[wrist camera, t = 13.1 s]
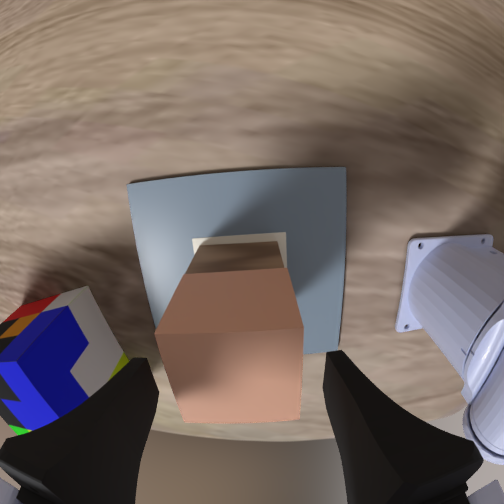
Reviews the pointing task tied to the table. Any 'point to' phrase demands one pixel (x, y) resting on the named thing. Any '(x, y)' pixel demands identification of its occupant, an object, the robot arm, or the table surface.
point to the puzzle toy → (54, 358)
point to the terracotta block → (234, 347)
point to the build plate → (249, 233)
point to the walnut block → (236, 257)
